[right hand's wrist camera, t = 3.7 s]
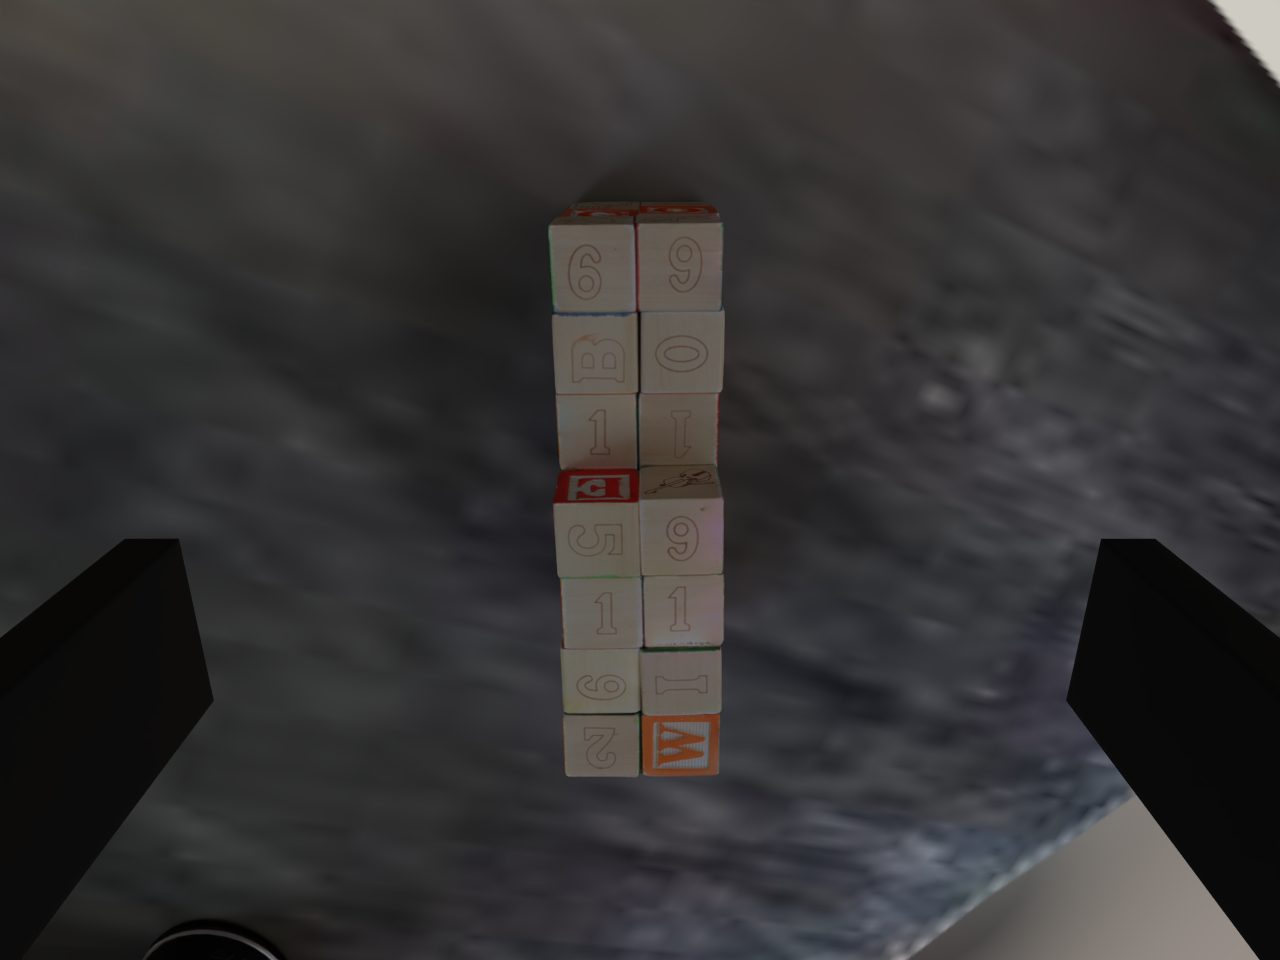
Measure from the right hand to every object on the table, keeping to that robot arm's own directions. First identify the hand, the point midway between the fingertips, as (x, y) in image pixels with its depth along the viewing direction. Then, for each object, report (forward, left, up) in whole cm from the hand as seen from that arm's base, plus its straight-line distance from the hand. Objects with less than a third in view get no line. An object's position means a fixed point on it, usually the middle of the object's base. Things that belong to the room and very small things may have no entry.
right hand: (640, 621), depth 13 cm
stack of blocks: (+6, +3, -29) cm, 30 cm away
